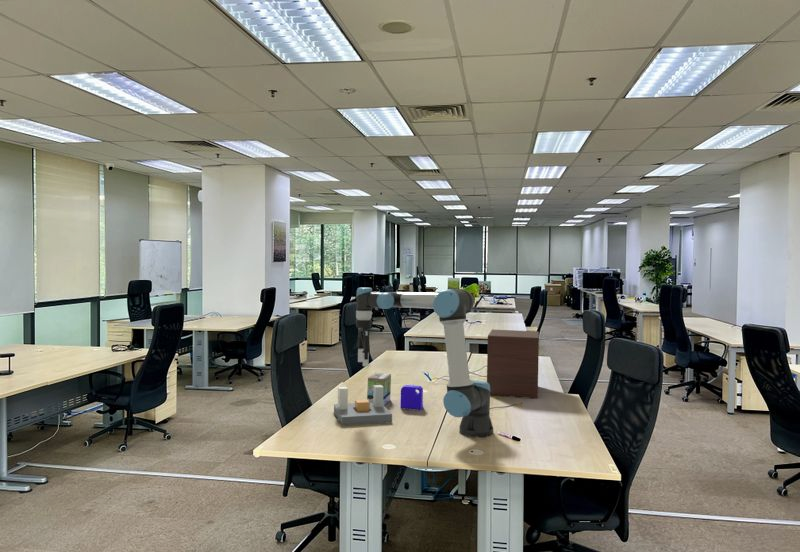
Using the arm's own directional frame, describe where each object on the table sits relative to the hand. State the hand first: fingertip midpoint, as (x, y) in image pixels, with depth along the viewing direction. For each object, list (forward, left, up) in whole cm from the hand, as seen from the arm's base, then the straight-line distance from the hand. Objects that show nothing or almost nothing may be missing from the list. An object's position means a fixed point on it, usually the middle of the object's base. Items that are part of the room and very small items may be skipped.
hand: (363, 363), depth 259 cm
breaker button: (0, 0, -23) cm, 23 cm away
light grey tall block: (+4, -9, -22) cm, 24 cm away
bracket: (+17, -32, -26) cm, 45 cm away
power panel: (0, 0, -26) cm, 26 cm away
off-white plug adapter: (+4, +9, -22) cm, 24 cm away
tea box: (+27, -15, -26) cm, 41 cm away
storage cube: (+38, -102, -26) cm, 112 cm away
